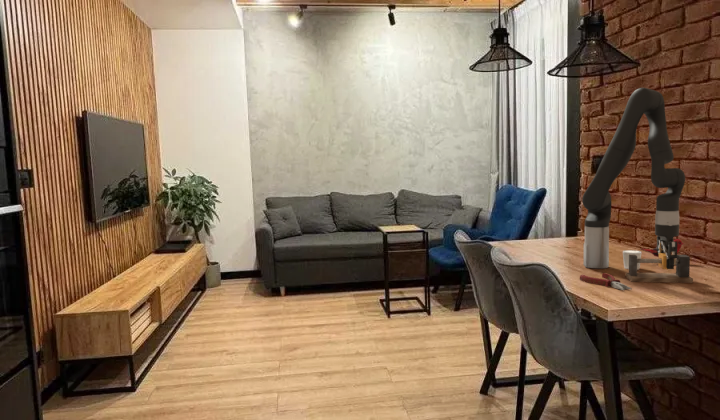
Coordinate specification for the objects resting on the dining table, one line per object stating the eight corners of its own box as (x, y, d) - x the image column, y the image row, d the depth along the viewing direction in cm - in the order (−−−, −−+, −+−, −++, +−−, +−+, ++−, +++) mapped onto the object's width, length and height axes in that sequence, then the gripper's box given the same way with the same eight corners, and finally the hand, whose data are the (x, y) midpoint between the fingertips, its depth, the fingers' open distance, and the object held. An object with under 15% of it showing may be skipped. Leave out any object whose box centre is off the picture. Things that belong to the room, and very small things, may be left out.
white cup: (625, 265, 205) (625, 249, 205) (643, 267, 200) (643, 250, 200) (620, 268, 201) (620, 251, 200) (638, 270, 196) (638, 253, 195)
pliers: (613, 294, 167) (613, 286, 166) (578, 280, 186) (578, 273, 186) (643, 291, 168) (643, 284, 168) (605, 278, 188) (605, 271, 188)
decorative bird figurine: (685, 262, 206) (686, 239, 205) (641, 263, 208) (641, 240, 207) (681, 261, 209) (682, 238, 208) (638, 262, 211) (638, 239, 210)
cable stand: (631, 281, 180) (631, 257, 179) (625, 276, 188) (625, 253, 187) (693, 282, 175) (693, 258, 174) (684, 277, 182) (685, 253, 182)
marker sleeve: (663, 269, 178) (663, 255, 178) (658, 266, 183) (658, 253, 182) (673, 269, 177) (674, 255, 177) (668, 266, 182) (669, 253, 182)
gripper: (649, 220, 186) (648, 262, 188) (662, 225, 173) (661, 270, 174) (671, 220, 184) (670, 262, 186) (686, 225, 171) (685, 271, 172)
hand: (666, 266), depth 180 cm, fingers open, 7 cm apart
